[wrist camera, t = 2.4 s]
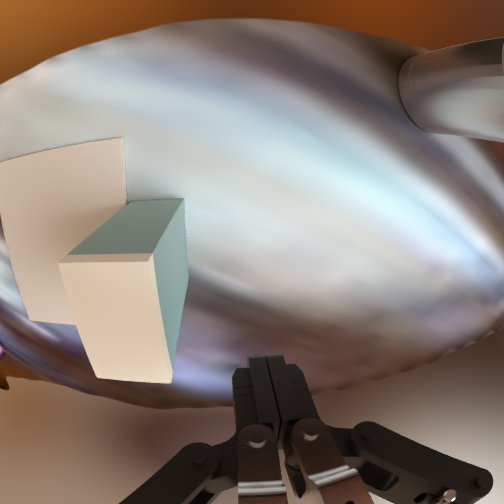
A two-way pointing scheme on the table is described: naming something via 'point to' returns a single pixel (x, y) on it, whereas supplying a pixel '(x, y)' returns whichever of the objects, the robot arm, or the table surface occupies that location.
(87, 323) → the teal block
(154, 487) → the robot arm
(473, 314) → the table surface
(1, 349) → the candy bar box
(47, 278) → the mat
